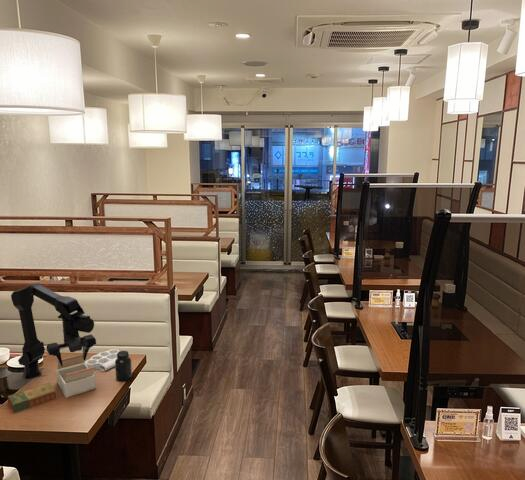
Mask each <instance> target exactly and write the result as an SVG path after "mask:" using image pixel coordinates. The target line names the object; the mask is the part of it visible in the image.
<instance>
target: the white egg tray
mask: <svg viewBox="0 0 525 480" xmlns="http://www.w3.org/2000/svg"><path fill="white" fill-rule="evenodd" d="M118 352H120V350H119V349H117V348H111V349H109V350H107V351H101V352H98V353H97V354H95V355H92V356H91V357H90V358H89V359H87V360H85V361H84V363H85V364H86V365H87V367H88V368H90V367H95V369H94V371H95V370H101V372H102V371H103V370H104V371H103V372H106V371H108V370H110V369H112V368H115V360H116V359H117V353H118ZM105 369H106V370H105Z"/></svg>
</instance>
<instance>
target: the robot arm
mask: <svg viewBox="0 0 525 480" xmlns="http://www.w3.org/2000/svg"><path fill="white" fill-rule="evenodd" d="M10 296H11V302H12V305H13V306H14V307H15V309H16V310H17V311H18V312H19V318H20V324H21V329H22V334H23V339H24V343H23V346H22V355H21V356H20V357H19V358H18V359H17V361H18V364H19V365H20V366H23V367H24V372H22V374H23V376H24V379H26V380H27V379H31V378H35V377H38V376H42V372H41V370H40V364H39V360H42V359H43V357H44V354H45V350H46V351H47V353H48V355H49V356H53V357H56V358H57V361H58V360H59V363H60V365H61V366H63V364H62V359H63V358H62V353H61V350H62V349H68V350H69V352H71V353H74V352H79V351H82V354H83V359H84V362H86V359H87V355H88V353H89V350H90V349H91V348H93V347H94V346H95V345H96V344H97V339H96V338H95V337H94V335H93V334H89V333H91V332H92V331H93V330H94V327H95V322H94V320H93V319H92V318H91V316H90V315H85V314H86V313H85V310H84V309H83V307H82V306H81V305H80V302H78V300H77V299H76V298H74V297H71V296H66V295H60V294H58V293H56V292H55V291H53V290H51V289H49V288H47V287H45V286H43V285H42V283H38V282H36V283H32V284H31V285H28V286H27V287H23V288H19V289H18V290H15V291H12V292H11V295H10ZM35 297H36V298H38V299H40V300H42V301H44V302H46V303H48V304H49V305H51V306H53V307H54V308H55V310H56V311H57V313H59V315H58V316H57V318H58V319H60V320H61V321H62V334H63V343H61V344H58V342H53V343H47V345H46V349H45V343H44V342H43V341H40V340H39V339H38V335H37V330H36V325H35V320H34V314H33V309H32V307H33V304H34V300H35ZM79 332H82V333H86V334H87V333H88V334H87V335H83V336H80V333H79Z"/></svg>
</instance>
